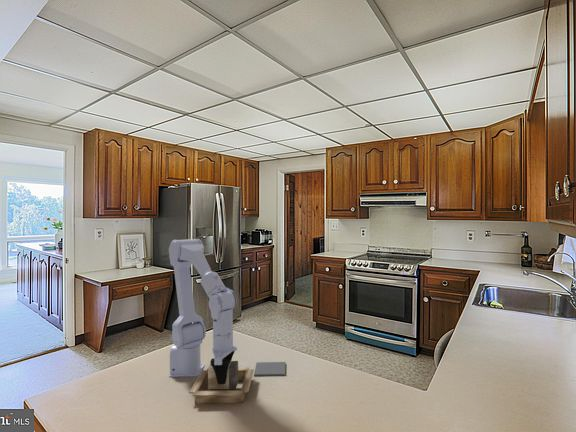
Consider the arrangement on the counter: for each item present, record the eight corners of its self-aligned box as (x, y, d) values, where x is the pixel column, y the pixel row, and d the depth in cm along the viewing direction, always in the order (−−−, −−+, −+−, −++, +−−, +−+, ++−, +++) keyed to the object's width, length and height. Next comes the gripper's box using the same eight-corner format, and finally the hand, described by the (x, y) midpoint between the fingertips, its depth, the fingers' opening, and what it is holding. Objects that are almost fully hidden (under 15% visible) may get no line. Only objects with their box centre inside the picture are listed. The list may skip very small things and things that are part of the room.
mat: (253, 376, 102) (253, 374, 102) (256, 363, 111) (256, 362, 111) (285, 375, 102) (285, 373, 102) (285, 363, 111) (285, 361, 111)
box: (208, 389, 92) (207, 368, 92) (211, 381, 96) (211, 361, 96) (235, 388, 92) (235, 367, 92) (238, 381, 96) (238, 360, 96)
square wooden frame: (187, 406, 86) (187, 395, 86) (203, 377, 102) (203, 368, 102) (247, 405, 86) (247, 394, 86) (254, 376, 102) (254, 367, 102)
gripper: (232, 341, 87) (232, 392, 87) (240, 324, 102) (240, 367, 101) (206, 341, 87) (206, 392, 87) (217, 325, 102) (218, 368, 101)
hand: (223, 379), depth 94 cm, fingers closed on box, 4 cm apart
